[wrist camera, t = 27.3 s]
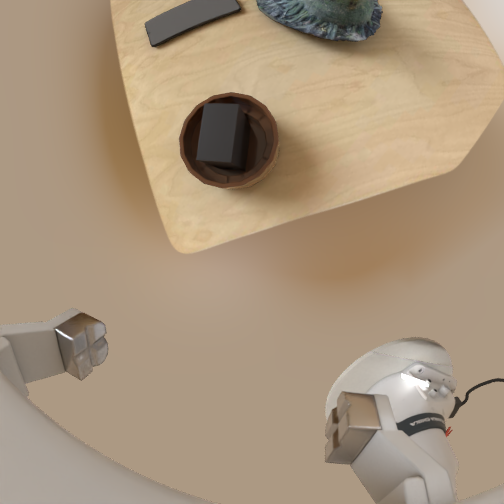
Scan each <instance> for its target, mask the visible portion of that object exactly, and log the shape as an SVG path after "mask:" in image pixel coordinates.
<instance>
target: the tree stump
mask: <svg viewBox="0 0 504 504" xmlns="http://www.w3.org/2000/svg"><path fill="white" fill-rule="evenodd" d="M377 1H378V0H257V5H258V8H259V10H260V11H262V12H263V13H264V14H265V15H267V16H268V17H269V18H270V19H272V20H274V21H277V22H279V23H281V24H283V25H286V26H289V27H291V28H294V29H296V30H298V31H301V32H304V33H307V34H313V35H314V36H316V37H319V38H325V39H330V40H335V41H338V40H342V41H346V40H347V41H355V42H356V41H361V40H366V39H367V37H369V36H371V35H374V33H375V32H376V30H377V29H378V28H379V27H380V19H381V13H383V11H381V10H382V7H381V6H380V5H378V3H377Z"/></svg>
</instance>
